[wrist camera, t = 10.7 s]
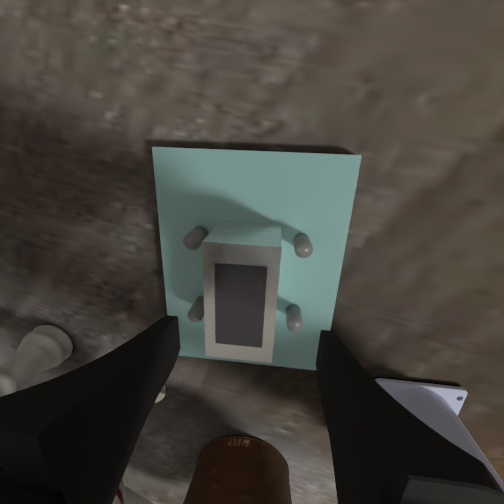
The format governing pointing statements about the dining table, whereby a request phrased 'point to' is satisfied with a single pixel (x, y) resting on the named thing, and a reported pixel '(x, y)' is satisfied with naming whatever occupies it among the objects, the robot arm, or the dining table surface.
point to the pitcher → (239, 474)
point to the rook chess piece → (35, 357)
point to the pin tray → (257, 211)
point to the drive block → (241, 289)
